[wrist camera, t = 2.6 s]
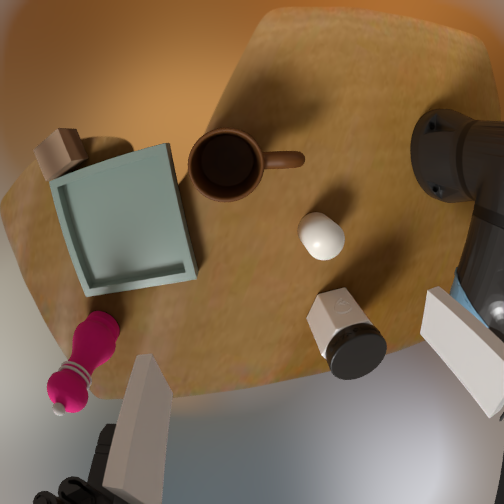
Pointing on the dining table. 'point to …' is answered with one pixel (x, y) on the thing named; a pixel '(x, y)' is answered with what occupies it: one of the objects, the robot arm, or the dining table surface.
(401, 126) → the dining table surface
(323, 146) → the dining table surface
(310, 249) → the white rounded cylinder
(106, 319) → the pepper mill
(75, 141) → the block
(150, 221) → the tray
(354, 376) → the jar
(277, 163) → the mug
